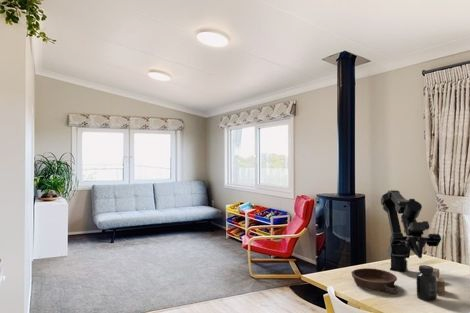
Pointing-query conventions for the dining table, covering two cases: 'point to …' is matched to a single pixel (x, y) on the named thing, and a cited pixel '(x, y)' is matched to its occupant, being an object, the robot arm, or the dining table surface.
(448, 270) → the dining table surface
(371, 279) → the dish
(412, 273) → the dining table surface
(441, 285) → the walnut block near bottle
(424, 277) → the supplement bottle
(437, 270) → the walnut block far
